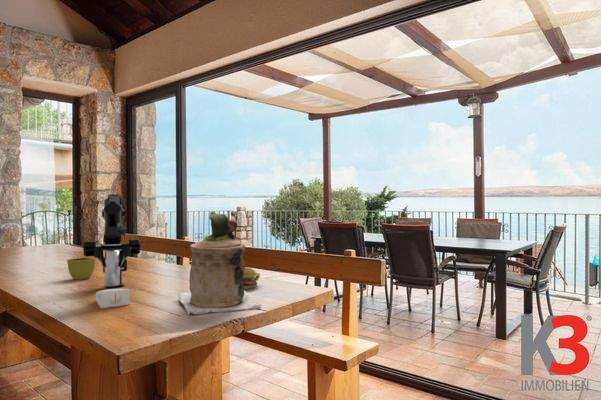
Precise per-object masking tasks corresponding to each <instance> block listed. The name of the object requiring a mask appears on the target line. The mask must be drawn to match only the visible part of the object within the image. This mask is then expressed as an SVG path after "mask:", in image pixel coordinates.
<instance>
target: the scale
mask: <svg viewBox="0 0 601 400" xmlns="http://www.w3.org/2000/svg"><path fill="white" fill-rule="evenodd" d="M95 298H96V299H95V301H96V303H97V305H98V306H99V308H100V309H105V308H106V309H107V308H113V307H122V306H128V305H130V303H131V302H130V288H108V289H103V290H99V291H96V292H95Z"/></svg>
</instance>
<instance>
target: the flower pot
mask: <svg viewBox="0 0 601 400" xmlns="http://www.w3.org/2000/svg"><path fill="white" fill-rule="evenodd" d="M96 260H97V258H95V257H93V258H92V257H86V256H84V257H77V258H70V259H69V258H68V259H66V261H67V268H68V273H69V275H70V276H71V278H72V279H74V280H79V281H81V280H85V279H87V280H88V279H90V278H91V277H92V275H93V273H94V271H95V266H96Z"/></svg>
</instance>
